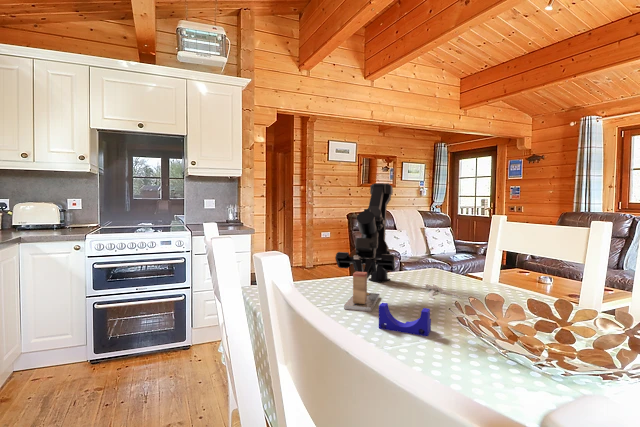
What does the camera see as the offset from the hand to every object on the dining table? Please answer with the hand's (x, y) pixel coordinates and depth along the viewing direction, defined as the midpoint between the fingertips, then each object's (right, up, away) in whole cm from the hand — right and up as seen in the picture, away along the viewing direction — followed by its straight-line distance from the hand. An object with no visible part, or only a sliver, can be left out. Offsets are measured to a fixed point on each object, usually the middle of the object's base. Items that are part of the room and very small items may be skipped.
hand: (361, 283), depth 112 cm
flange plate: (+1, -6, +2) cm, 7 cm away
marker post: (-1, -5, -2) cm, 5 cm away
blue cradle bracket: (+8, -8, -21) cm, 24 cm away
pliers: (+28, -7, +15) cm, 33 cm away
